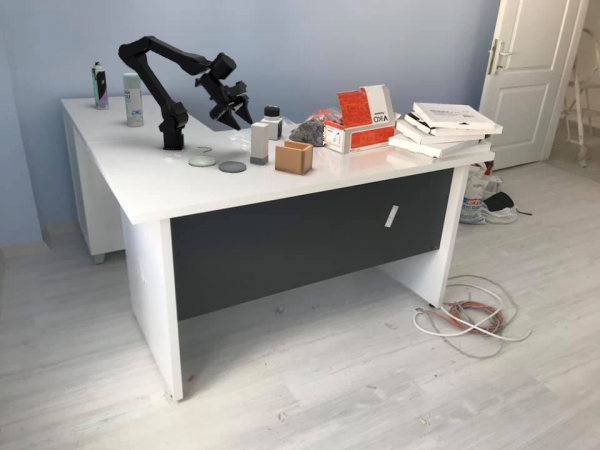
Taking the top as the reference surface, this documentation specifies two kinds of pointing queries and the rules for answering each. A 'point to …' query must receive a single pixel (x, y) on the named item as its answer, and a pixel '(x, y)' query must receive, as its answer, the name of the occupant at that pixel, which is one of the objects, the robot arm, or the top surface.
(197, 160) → the pad pale
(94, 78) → the spray can
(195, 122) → the top surface
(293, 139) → the mineral rock
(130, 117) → the spray paint can
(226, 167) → the pad dark
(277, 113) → the medicine bottle
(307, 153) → the chute
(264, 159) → the tall white pillar block
